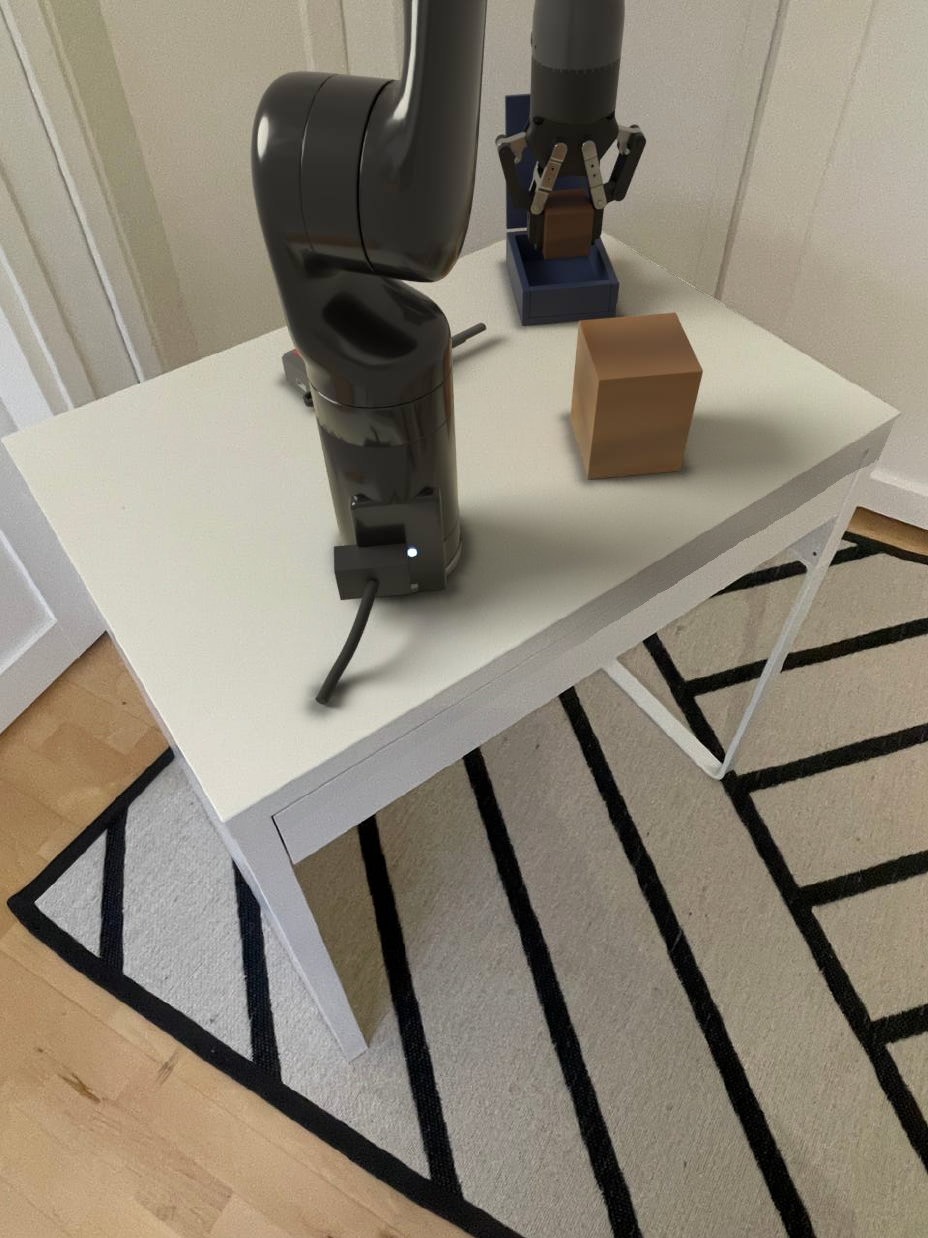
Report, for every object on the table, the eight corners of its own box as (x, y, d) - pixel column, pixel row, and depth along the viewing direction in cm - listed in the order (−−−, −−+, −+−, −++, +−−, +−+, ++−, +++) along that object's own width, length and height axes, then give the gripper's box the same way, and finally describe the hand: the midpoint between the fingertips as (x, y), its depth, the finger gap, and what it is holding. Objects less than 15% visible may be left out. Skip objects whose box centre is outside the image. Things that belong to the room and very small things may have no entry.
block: (589, 255, 84) (594, 210, 80) (544, 259, 84) (546, 214, 80) (580, 232, 87) (584, 187, 83) (537, 236, 87) (538, 191, 83)
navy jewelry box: (615, 317, 87) (619, 282, 84) (521, 325, 86) (522, 291, 83) (592, 258, 94) (595, 224, 91) (505, 265, 93) (506, 231, 90)
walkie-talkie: (323, 428, 77) (492, 342, 84) (314, 388, 74) (492, 302, 81) (272, 383, 81) (437, 305, 89) (262, 343, 78) (435, 265, 85)
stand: (680, 470, 72) (703, 370, 64) (587, 479, 72) (598, 380, 64) (657, 411, 77) (675, 311, 69) (569, 419, 77) (578, 320, 69)
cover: (604, 89, 82) (594, 78, 86) (505, 96, 82) (499, 85, 85) (596, 222, 90) (587, 207, 94) (506, 229, 90) (500, 214, 93)
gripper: (497, 71, 69) (497, 269, 82) (671, 58, 70) (643, 257, 83) (486, 37, 74) (487, 230, 87) (649, 25, 74) (625, 219, 88)
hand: (563, 242), depth 85 cm, fingers closed on block, 4 cm apart
